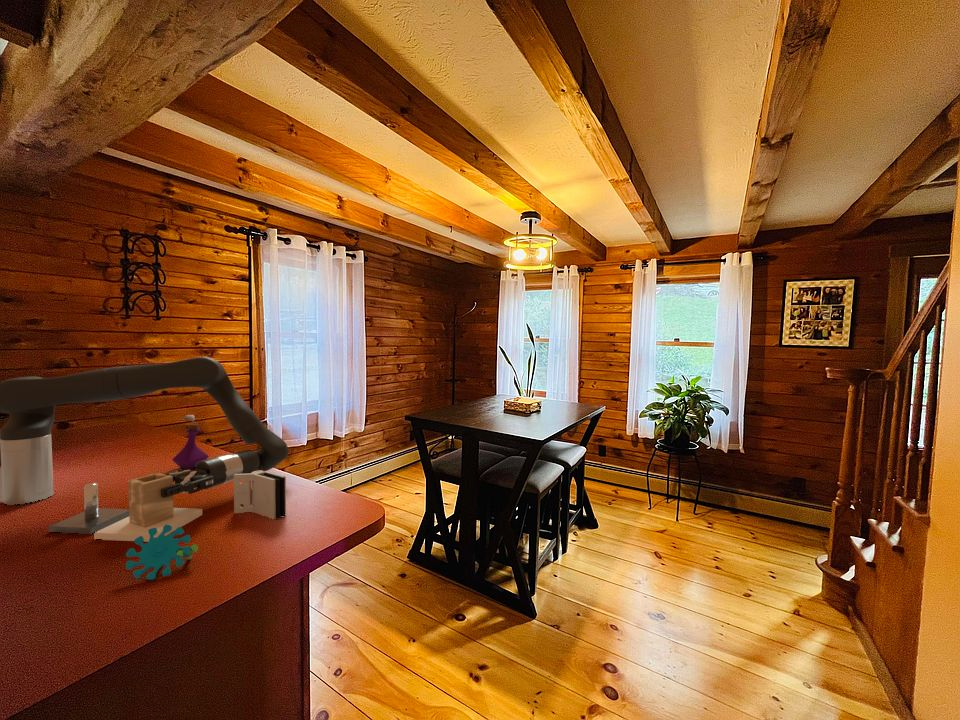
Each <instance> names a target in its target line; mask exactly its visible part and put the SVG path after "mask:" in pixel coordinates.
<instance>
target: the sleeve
mask: <svg viewBox="0 0 960 720" xmlns="http://www.w3.org/2000/svg"><path fill="white" fill-rule="evenodd" d="M127 482H128V509H129V520H130V523H132V524H135V525H138V526H141V527H144V528H145V527H148V526H151V525H154V524H156V523H159V522H162V521H165V520H167V519H170V518H173V517H174V510H173V508H174V495H172V496H169V497H166V498H163V497H161V489H162V488H165V487H168V486H172V485H173V483H174V481H173V476H170V475H165V474H162V473H161V472H154V473H150V474H146V475H143V476H140V477H136V478H132V479H128V481H127Z"/></svg>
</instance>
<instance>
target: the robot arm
mask: <svg viewBox="0 0 960 720" xmlns="http://www.w3.org/2000/svg"><path fill="white" fill-rule="evenodd" d="M224 367H225V366H224V365H223V364H222V363H221V362H219V361H217V360H216V359H214V358H212V357H208V356H196V357H192V358H188V359H182V360H177V361H172V362H168V363H167V362H166V363H157V364H137V365H135V364H134V365H124V366H113V367H105V368H100V369H98V368H97V369H94V370H86V371H83V372H78V373H74V374H68V375H64V376H57V377H46V378H44V377H41V376H37V375H36V376H33V375H31V376H30V375H29V376H20V377H13V378H9V379H8V378H7V379H5V380H3V381H0V412H2V413H3V412H4V413H9V417H8V420H7V422H6V423H5V424H4V425H3V426H2V427H1V429H0V463H1V466H0V501H1V502H0V503H2V504H3V503H4V504H7V505H6V506H16V505H17V504H20V505H26V504H25V503H27V504H30V502H32V503H36V502H39V501H38V500H40V501H43V500H46V499H49V498H51V497H53V495H54V473H53V471H54V469H53V468H54V467H53V449H52V447H53V444H52V427H53V425H54V422H55V420H56V419H55V418H56V417H55V416H56V415H55V414H56V413H55V412H56V406H57V405H65V404H67V405H68V404H81V403H82V404H83V403H98V402H109V401H110V402H112V401H118V400H127V399H133V398H137V397H142V396H145V395H149V394H152V393H155V392H158V391H162V390H167V389H175V388H179V389H180V388H200V389H203V391H205V392H206V393H207V394H208V395H210V396H211V398H212V399H213V400H214V401H215V402H216V403H217V404H218V406H219V407H220V408H221V410H222V412H223V414H224V415H225V417H226V420H227V421H228V422H229V424H230V425H231V427H232V428H233V430H234V432H236V433H237V435H238V436H239V437H240V439H242V441H243V442H244V443H245V444H246V445H249V446H250V445H253V444H257V445H258V446H259V447H261V448H260V449H257V450H256V451H254V450H252V449H246V450H245V449H244V450H241V451H240V450H239V451H237V452H234V453H228V454H222V455H219V456H215V457H211V458H210V457H209V458H207V459H206V460H203V461H199V462H198V463H196V465H195V466H194V468H193V469H190V470H188V469H182V468H178V469H175V470H170V471H167V472H166V471H165V472H162V473H161V474H165V475H170V476H173V485H172V486H168V487H165V488H162V489H161V497H163V498H166V497H169V496H172V495H173V496H175V495H178V494H186V493H187V494H189V495H191V494H194V493H197V492H200V491H203V490H209V489H211V488H214V487H217V486H220V485H224V484H227V483H230V482H233V481H234V474H248V473H252V472H254V471H258V470H262V471H264V472H266V471H269V470H272V469H274V468H275V467H276V466H277V465H279V464H280V463H281V462H283V461H284V460H286V459H287V457H288V456H289V451H290V450H289V447H288V444H287V443H286V441H284V439H282V437H280V436H279V435H277V434H276V433H274V432H273V431H272V430H270V429H269V428H267V427H266V426H265V424H264V423H263V422H262V421H261V419H260V418H259V417H258V416H257V414H256V413H255V412H254V411H253V409H252V408H251V407H250V406H249V405H248V404H247V403H246V401H245V400H244V399H243V398H242V396H241V395H240V394H239V392H238V390H237V389H236V387H235V386H234V385H233V382H232V381H231V379H230V377H229V374H228V373H227V371H226V369H225V368H224ZM50 496H51V497H50ZM48 497H49V498H48ZM42 499H43V500H42ZM35 501H36V502H35ZM4 504H3V505H4ZM15 504H16V505H15Z"/></svg>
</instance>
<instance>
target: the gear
mask: <svg viewBox="0 0 960 720" xmlns="http://www.w3.org/2000/svg"><path fill="white" fill-rule="evenodd" d="M171 529H172V526H170V525H165V526H164V527H163V531H162V533H161V534H160V535H159V536H158V537H156V538H154V535H155V534H156V533H157V528H152V529H149V530H148V533H149V535H150V539H149V542H146V543H145V542H144V538H143V537H142V536H140V537H138V538H136V539H135V540H134V541H133V542H134V543H135V544H136V545H138V546H140V547H141V551H139V552H136V549H135V548H133V547H130V548H128V550H127V552H126V553H125V555H126V557H128V558H132V557H138V558H140V559H139V560H138V561H134V560H128V561H127V562H126V563H125V568H126V570H132V569H133V568H135V567H138V566H144V567H143V568H141V569H135V570H134V571H133V572H132V574H133V576H134V577H135V579H140V578H141V577H142V576H143V575H144V573H145V572H147V571H149V570H151V569H154V570H152V571H150V572H149V573H147V575H146V577H145V578H146V580H148V581H154V580H156V578H157V577H156V576H157V573H158V572H159V570H160V569H161V568H162V567H165V568H164V569H163V570H162V572H161V575H162V577H168V576H170V575H172V570H171V568H170V564H171V562H172V561H173V560H176V561H175V565H176V567H178V568H179V567H181V566H183V565H184V564H185V560H184V559H187V560H188V561H189V560H191V559H192V558H193V557H192V556H193V555H194V553H196V552H198V550H199V547H198V545H197V544H196V543H195V544H192V545H191V546H190V545H187V546H181V545H179V543H181V542H183V543H185V544H188V543H190V542H191V535H190V534H186V535H184V536H182V537H179V538H177V537H176V538H174V537H175V536H179V535H183V534H184V533H185V531H184V528H183V527H178V528H177V529H176V530H175V531H173V532H172V533H170V534H168V535H166V536H165V533H167V532H169V531H171Z"/></svg>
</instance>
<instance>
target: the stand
mask: <svg viewBox="0 0 960 720" xmlns="http://www.w3.org/2000/svg"><path fill="white" fill-rule="evenodd" d="M98 485H99V483H98V482H89V483H86V484H84V485H83V503H84V511H81V512H79V513H77V514H75V515H73V516H71V517H67V518H66V519H63V520H61V521H58V522H56V523H53V524H51V525H48V533H49V532H60V533H59V534H68V533H79V534H78V535H90V534H91V535H92V533H93V534H94V532H96V531H99V530H101V529H103V528H105V527H107V526H110V525H112V524H114V523H116V522H118V521H120V520H122V519H124V518H127V517H129V508H128V509H124V508H103V507H102V508H101V507H99V486H98ZM61 532H62V533H61Z"/></svg>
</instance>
